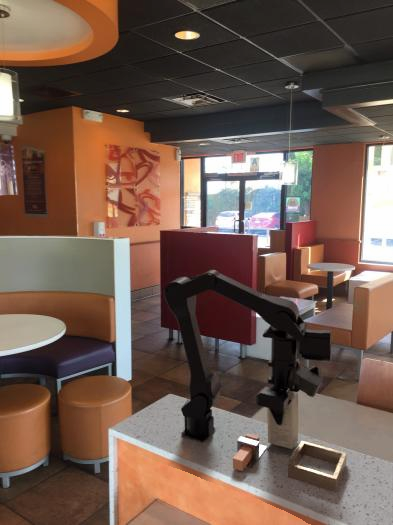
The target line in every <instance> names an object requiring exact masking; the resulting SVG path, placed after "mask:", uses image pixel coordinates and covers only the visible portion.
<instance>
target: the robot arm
mask: <svg viewBox="0 0 393 525" xmlns="http://www.w3.org/2000/svg"><path fill="white" fill-rule="evenodd" d="M207 291H211V292H214V293H216V294H218V295H220V296H222V297H224V298H226V299H228V300H230V301H232V302H235V303H237V304H238V305H241V306H242V307H244V308H246V309H249V310H251V311H253V312H255V313H256V314H257V315H258V316H259V317H260V318H261V319H262V320H263V321H264V323H266V324H268V325H269V327H268V328H267V329H265V330H264V332H263V333H262V337H263V338H265V339H267V338H268V339H271V344H270V347H271V348H270V349H271V350H270V351H271V352H270V353H271V354H270V356H271V357H270V360H268V363H267V367H270V376H269V377H268V378H267V384H270V385H273V386H272V387H271V386H265V387H263V388H262V389H261V390H260V391H259V392H258V393H257V394H256V396H255V398H256V399H255V401H256V403H255V404H256V405H257V406H259V407H263V408H269V409H270V411H271V413H272V415H273V417H274V419H275V422H276V424H278V425H282V421H283V416H284V411H285V408H286V407H287V406H288V405H289V404H290V403H291V401H292V400H289V395H288V392H287V391H288V390H289V391H293V392H298V393H299V392H300V391H302V392H303V393H305V395H307V396H308V397H311V398H314V397H315V396H316V394H317V393H318V392H319V389H320V387H321V385H322V384H323V381H324V379H323V375H322V372H321V371H322V370H321V367H320V366H318V365H313V366H311V367H310V368H309V367H304V366H301V363H302V362H301V360H300V358H298V350H299V355H301V358H303V359H304V360H306V361H307V360H309V361H318V362H324V363H331V360H332V346H333V342H332V331H331V330H328V329H322V330H321V329H320V330H319V329H309V328H308V325H307V324H306V322H305V321H304V320H303V318H302V317H301V315H300V310H299V307H298V304H296V303H295V302H294V301H293V300H291V299H286V298H283V297H279V296H276V295H275V296H274V295H269V294H265V293H262V292H260V291H258V290H256V289H253V287H252V288H251V287H250V286H248V285H245V284H243V283H241V282H239V281H237V280H235V279H233V278H230V277H229V276H226V275H224V274H223V273H221V272H219V271H218V270H216V269H210V270H208V271H206V272H204V273H201V274H198V275H195V276H192V277H187V276H181V277H178V278H176V279H175V280H173V281H171V282H169V283H168V284H167V285H166V286H165V288H164V289H163V296H164V300H165V301H166V304H167V307H168V309H169V310H170V312H171V313H172V314H173V315H174V317H175V319H176V321H177V324H178V325H177V326H178V328H179V333H180V336H181V340H182V345H183V348H184V353H185V357H186V361H187V365H188V369H189V374H190V378H189V387H188V390H189V397H188V398H187V400H186V402H185V403H184V404H183V406H182V407H181V408H180V410H181V412H182V416H183V417H184V418H183V419H184V430H183V431H182V432H181V434H180V435H181V436H183V437H186V438H189V439H192V440H196V441H199V442H202V443H203V442H204V443H205V441H207V440H208V438H209V437H210V436H211V435H212V434H213V433H214V432H215V431H216V427H215V425H214V424H215V420H214V418H215V417H214V415H213V409H212V408H213V406H214V404H215V402H216V401H217V399H218V397H219V396H220V394H221V389H222V387H223V386H222V383H221V381H220V376H219V375H220V374H219V372H218V371H217V372H216V371H215V372H213V371H212V370H211V368H210V367H209V365H208V364H209V363H208V360H207V356H206V352H205V348H204V344H203V340H202V335H201V331H200V327H199V324H198V318H197V315H196V310H197V309H196V307H197V295H199V294H201V293H204V292H207ZM298 341H299V349H298Z"/></svg>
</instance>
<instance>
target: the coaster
mask: <svg viewBox="0 0 393 525" xmlns="http://www.w3.org/2000/svg"><path fill="white" fill-rule="evenodd" d="M298 446H299V443H298V442H297V443H296V445H295V446H294V448H293V449H290V448H286V447H282V446H279V445H275V444H271V443H269V445H268V446H267V448H266V451H270V452H272V453H275V454H279V455H282V456H287V457H289V458H292V456H293V454H294V453H295V451H296V449H297V448H298Z"/></svg>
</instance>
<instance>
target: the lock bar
mask: <svg viewBox="0 0 393 525" xmlns="http://www.w3.org/2000/svg"><path fill="white" fill-rule="evenodd" d="M244 437H245V438H248V439H252V440H255V441H259V442H260V436H259V435H257V434H256V435H255V434H252V433H248V432H247V433H246V434H245V435H244ZM236 452H237V451H236ZM252 457H253V447H250V446H247V445H243V446H242V447H241V449H240V450H239V451H238V452H237V453H235V455H234V456H233V457H232V469H234V470H238V471H240V472H243V471H244V469H245V468H247V467H246V465H247V464H248V463H249V461H250V460H251V459H252Z"/></svg>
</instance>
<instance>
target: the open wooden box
mask: <svg viewBox="0 0 393 525" xmlns="http://www.w3.org/2000/svg"><path fill="white" fill-rule="evenodd" d="M347 455H348V452H345V451H341V450H337V449H335V448H329V447H326V446H323V445H319V444H315V443H312V442H308V441H304V440H300V443H298V445H297V447H296V448H295V450H294V452H293V453H292V455H291V457H290V460H289V462H288V463H287V472H286V473H287V474H286V476H287V478H288V479H291V480H295V481H298V482H300V483H304V484H307V485H310V486H314V487H316V488H319V489H322V490H326V491H329V492H333V493H337V491H338V488H339V485H340V482H341V480H342V477H343V474H344V471H345V469H346V467H347V459H348V458H347ZM304 457H308V458H311V459H316V460H319V461H322V462H326V463H328V464H333V465H336V468H335V471H334V473H333V475H332V474H329V473H325V472H322V471H320V470H315V469H312V468H309V467H305V466H303V465H300V463H301V462H302V460H303V458H304Z"/></svg>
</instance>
